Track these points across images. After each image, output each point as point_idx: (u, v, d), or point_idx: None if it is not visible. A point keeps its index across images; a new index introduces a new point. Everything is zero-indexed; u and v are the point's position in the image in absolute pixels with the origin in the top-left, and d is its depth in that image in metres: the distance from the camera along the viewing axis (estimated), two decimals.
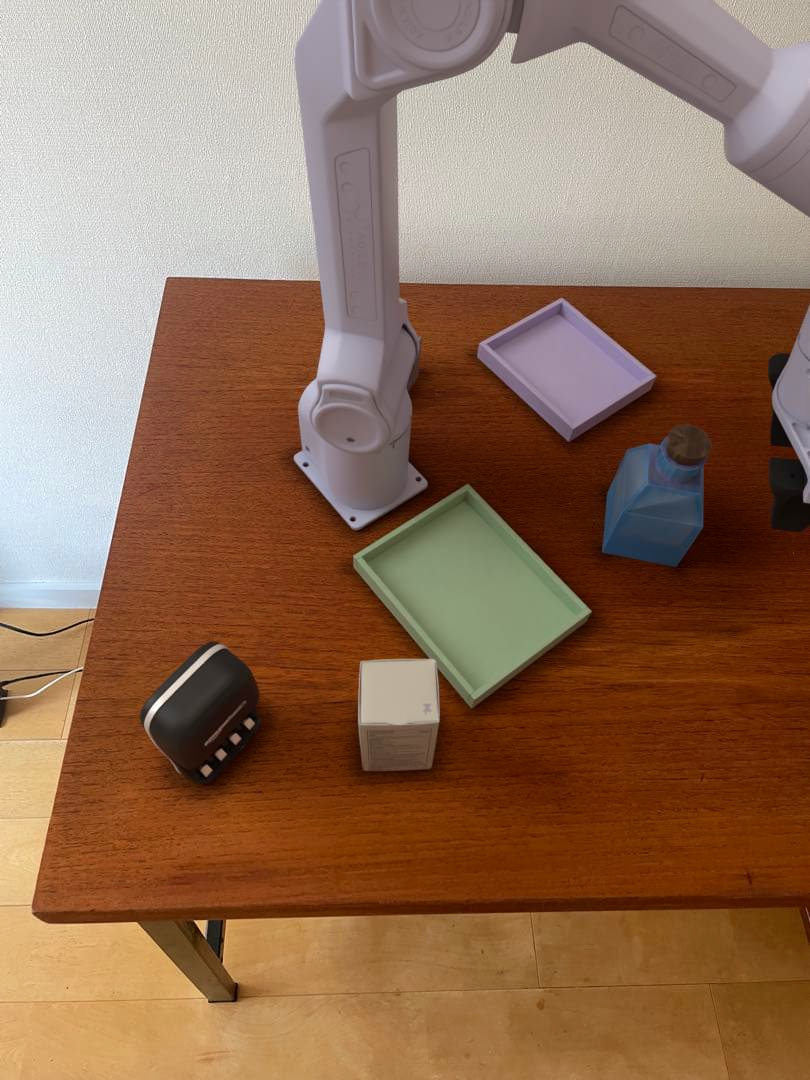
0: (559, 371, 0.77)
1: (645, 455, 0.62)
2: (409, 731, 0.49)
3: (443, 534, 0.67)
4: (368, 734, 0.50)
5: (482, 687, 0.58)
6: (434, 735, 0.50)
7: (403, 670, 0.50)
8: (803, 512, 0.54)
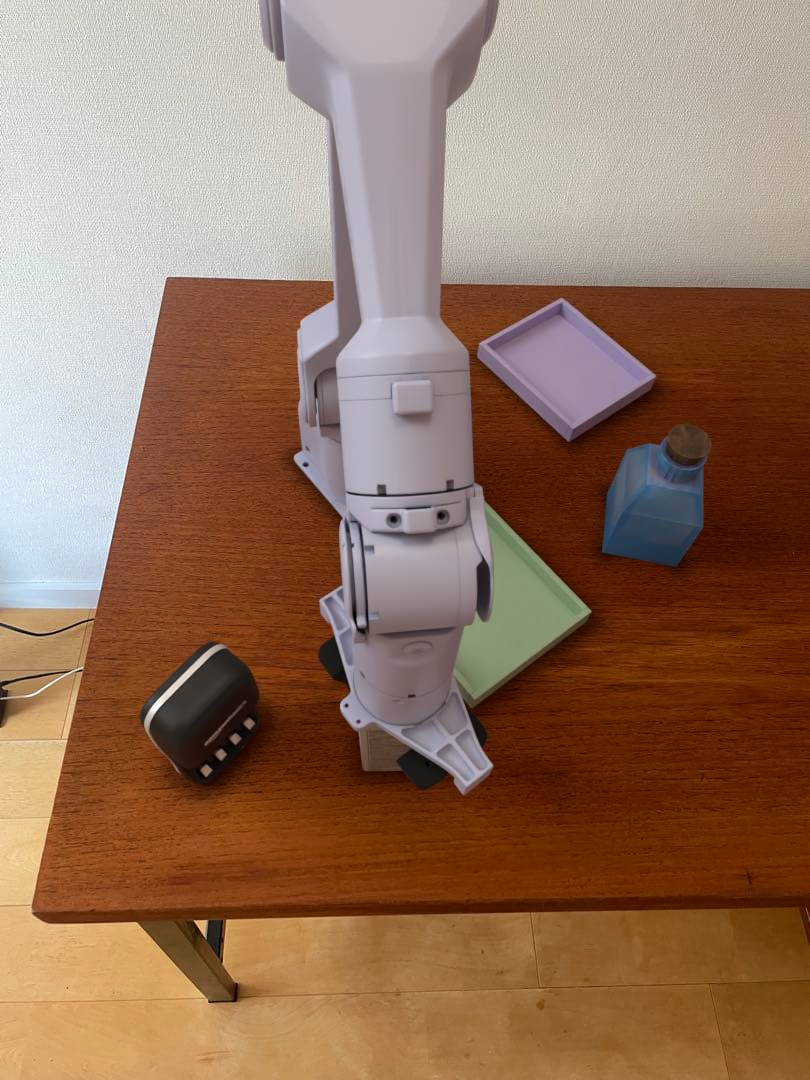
0: (559, 371, 0.77)
1: (645, 455, 0.62)
2: None
3: None
4: (368, 734, 0.50)
5: (482, 687, 0.58)
6: None
7: None
8: None
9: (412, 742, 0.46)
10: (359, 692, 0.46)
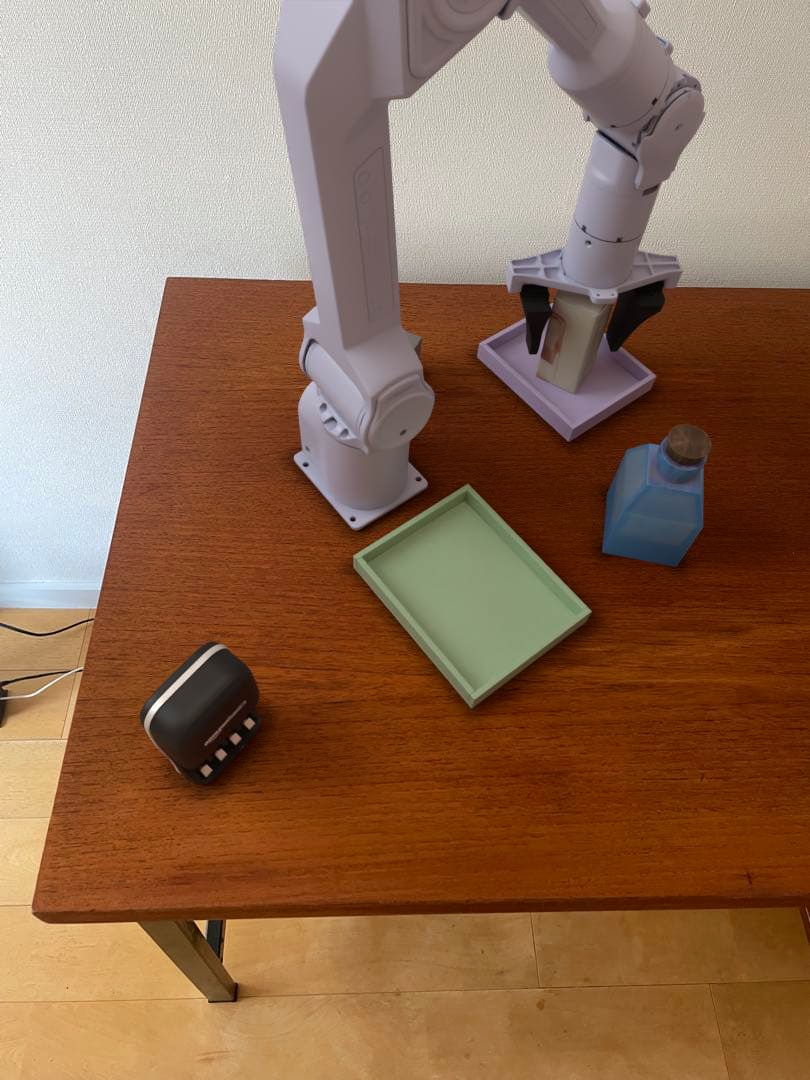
0: None
1: (645, 455, 0.62)
2: (610, 305, 0.69)
3: (443, 534, 0.67)
4: (596, 327, 0.69)
5: (482, 687, 0.58)
6: None
7: None
8: None
9: (641, 279, 0.66)
10: (602, 275, 0.64)
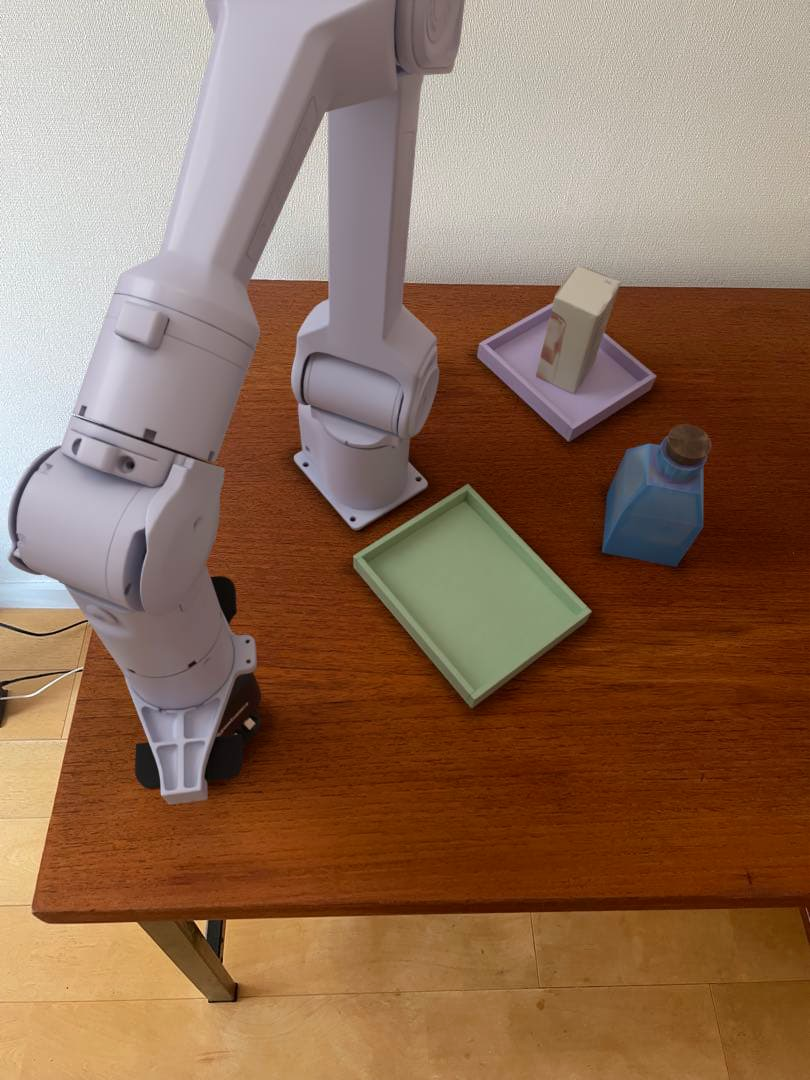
0: None
1: (644, 455, 0.62)
2: (610, 305, 0.69)
3: (443, 534, 0.67)
4: (596, 327, 0.69)
5: (482, 687, 0.58)
6: None
7: (574, 281, 0.69)
8: None
9: None
10: (230, 650, 0.43)
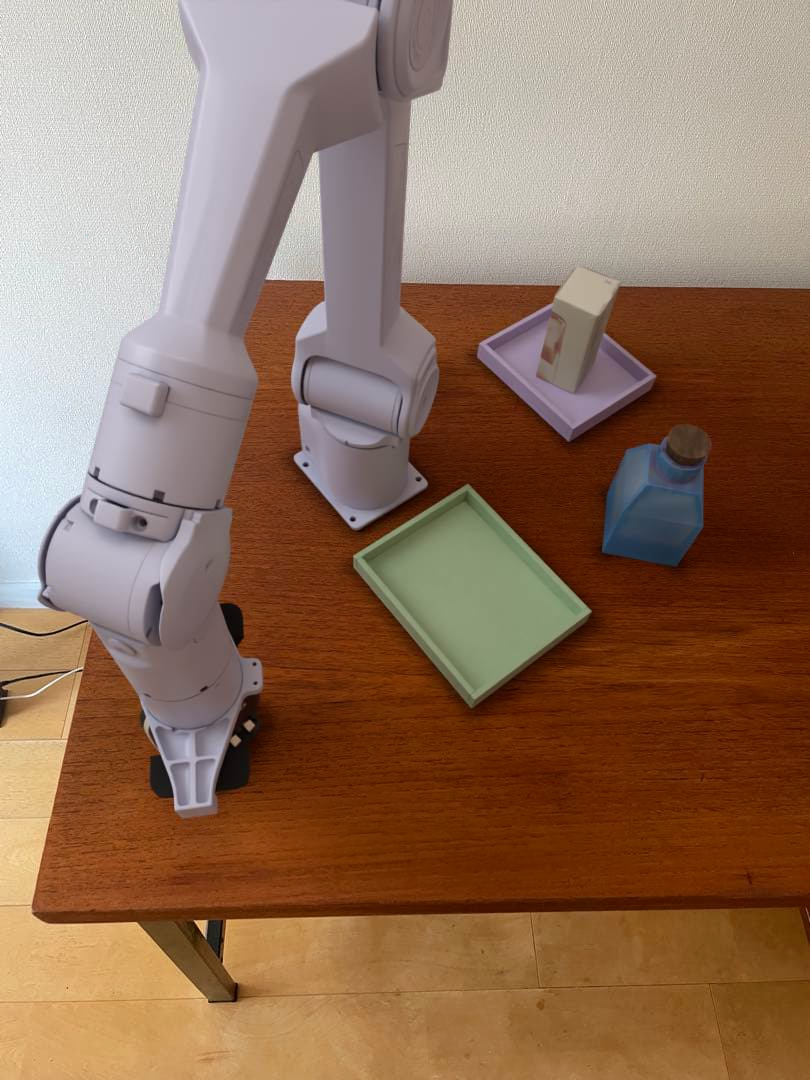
0: None
1: (644, 455, 0.62)
2: (610, 305, 0.69)
3: (443, 534, 0.67)
4: (596, 327, 0.69)
5: (482, 687, 0.58)
6: None
7: (574, 281, 0.69)
8: None
9: None
10: (238, 673, 0.45)
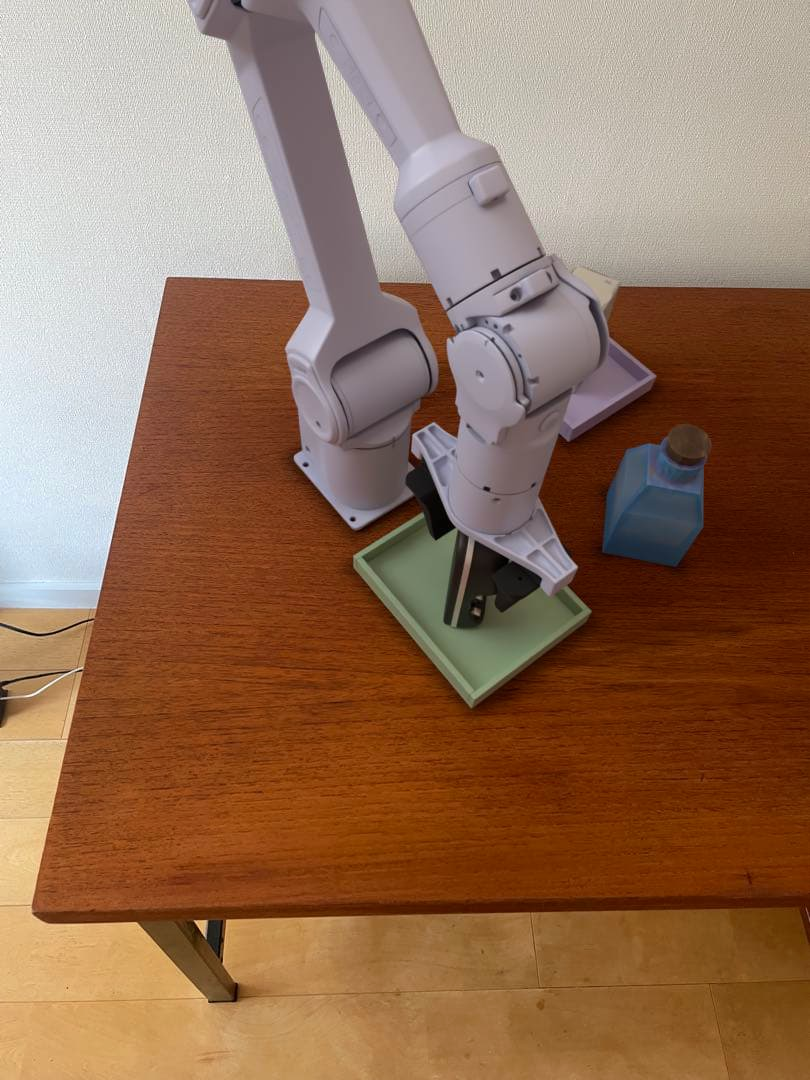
0: None
1: (644, 455, 0.62)
2: (610, 305, 0.69)
3: None
4: None
5: (482, 687, 0.58)
6: None
7: None
8: None
9: None
10: None
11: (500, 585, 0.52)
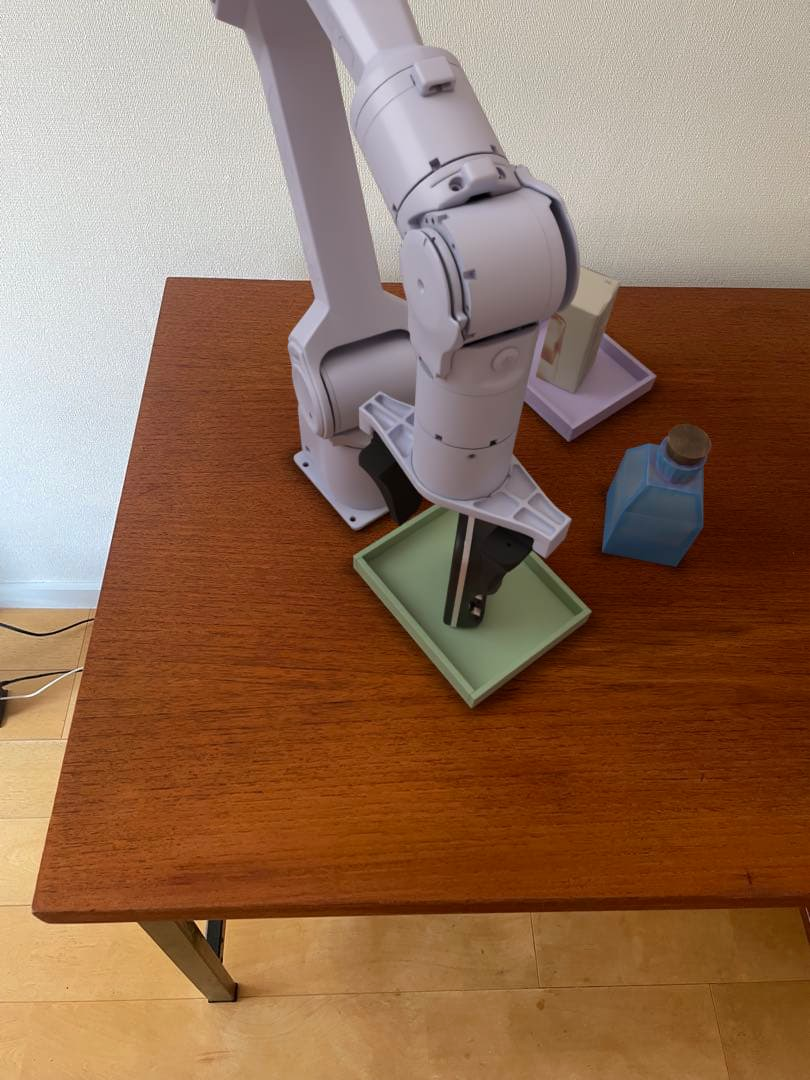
0: None
1: (644, 455, 0.62)
2: (610, 305, 0.69)
3: (443, 534, 0.67)
4: (596, 327, 0.69)
5: (482, 687, 0.58)
6: None
7: None
8: None
9: None
10: None
11: (489, 556, 0.46)
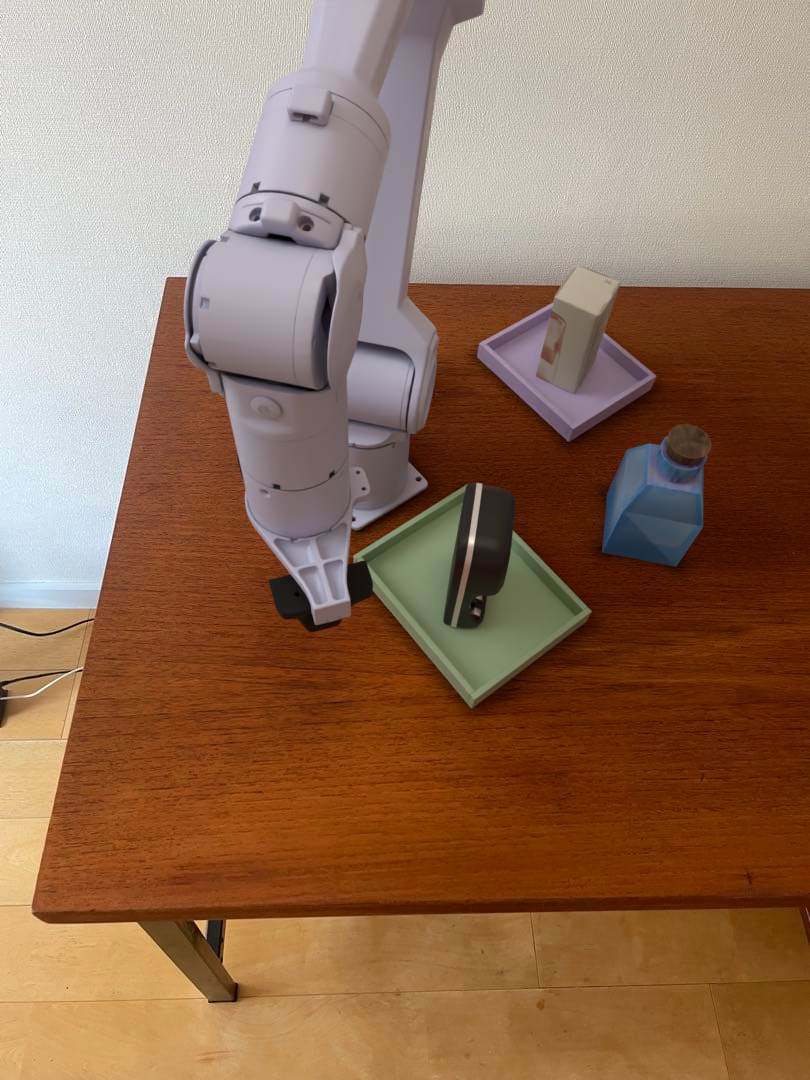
0: None
1: (644, 455, 0.62)
2: (610, 305, 0.69)
3: (443, 534, 0.67)
4: (596, 327, 0.69)
5: (482, 687, 0.58)
6: None
7: (574, 281, 0.69)
8: None
9: None
10: (349, 476, 0.44)
11: (272, 594, 0.44)
